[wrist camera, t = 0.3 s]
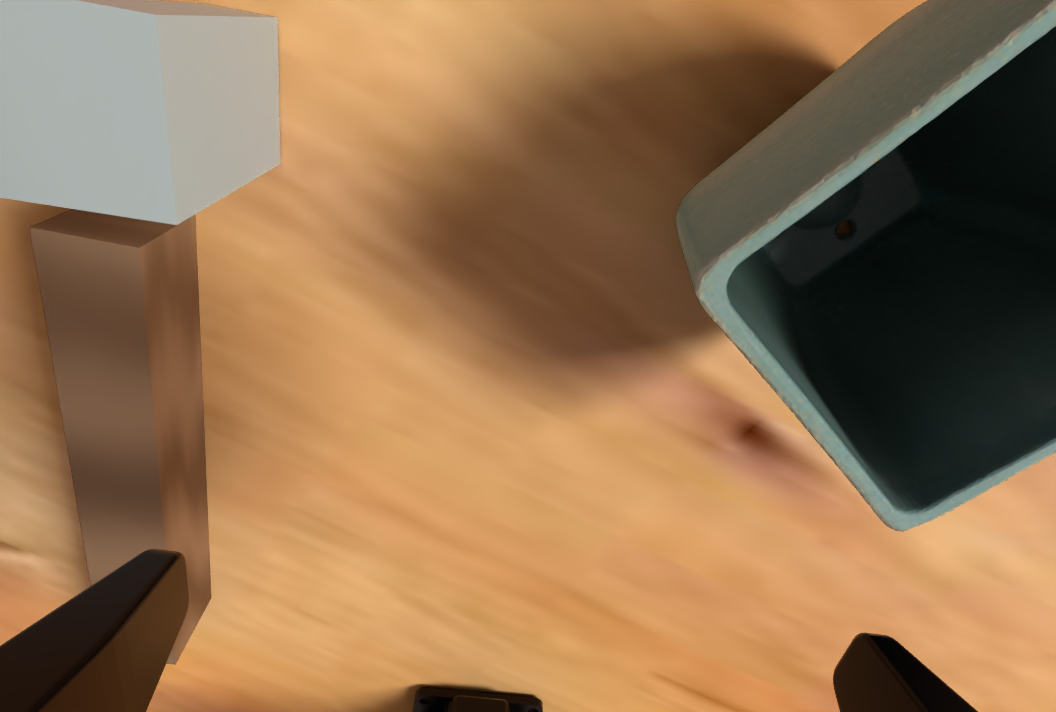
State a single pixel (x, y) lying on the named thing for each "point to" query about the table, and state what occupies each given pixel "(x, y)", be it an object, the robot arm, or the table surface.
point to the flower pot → (902, 255)
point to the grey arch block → (135, 104)
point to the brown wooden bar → (130, 388)
